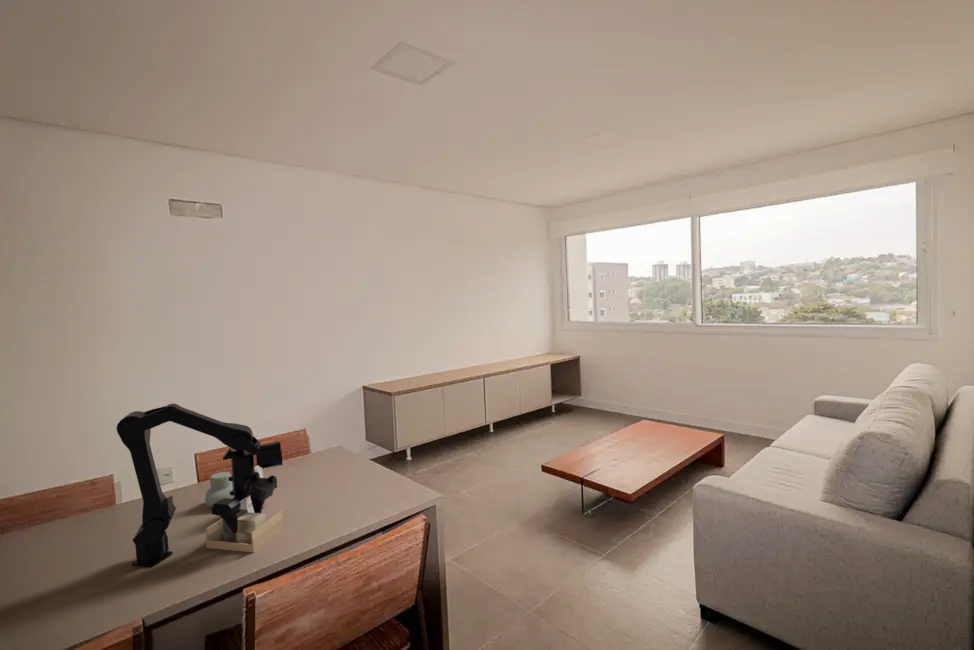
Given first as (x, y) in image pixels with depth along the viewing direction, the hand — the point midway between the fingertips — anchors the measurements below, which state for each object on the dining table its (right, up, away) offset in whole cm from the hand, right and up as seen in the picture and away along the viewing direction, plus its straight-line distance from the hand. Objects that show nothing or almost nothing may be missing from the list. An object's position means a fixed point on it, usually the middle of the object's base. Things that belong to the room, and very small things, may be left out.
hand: (247, 524), depth 132 cm
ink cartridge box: (-8, -3, +17) cm, 19 cm away
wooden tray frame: (0, -4, 0) cm, 4 cm away
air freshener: (-20, -3, +23) cm, 31 cm away
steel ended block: (0, -4, 0) cm, 4 cm away
